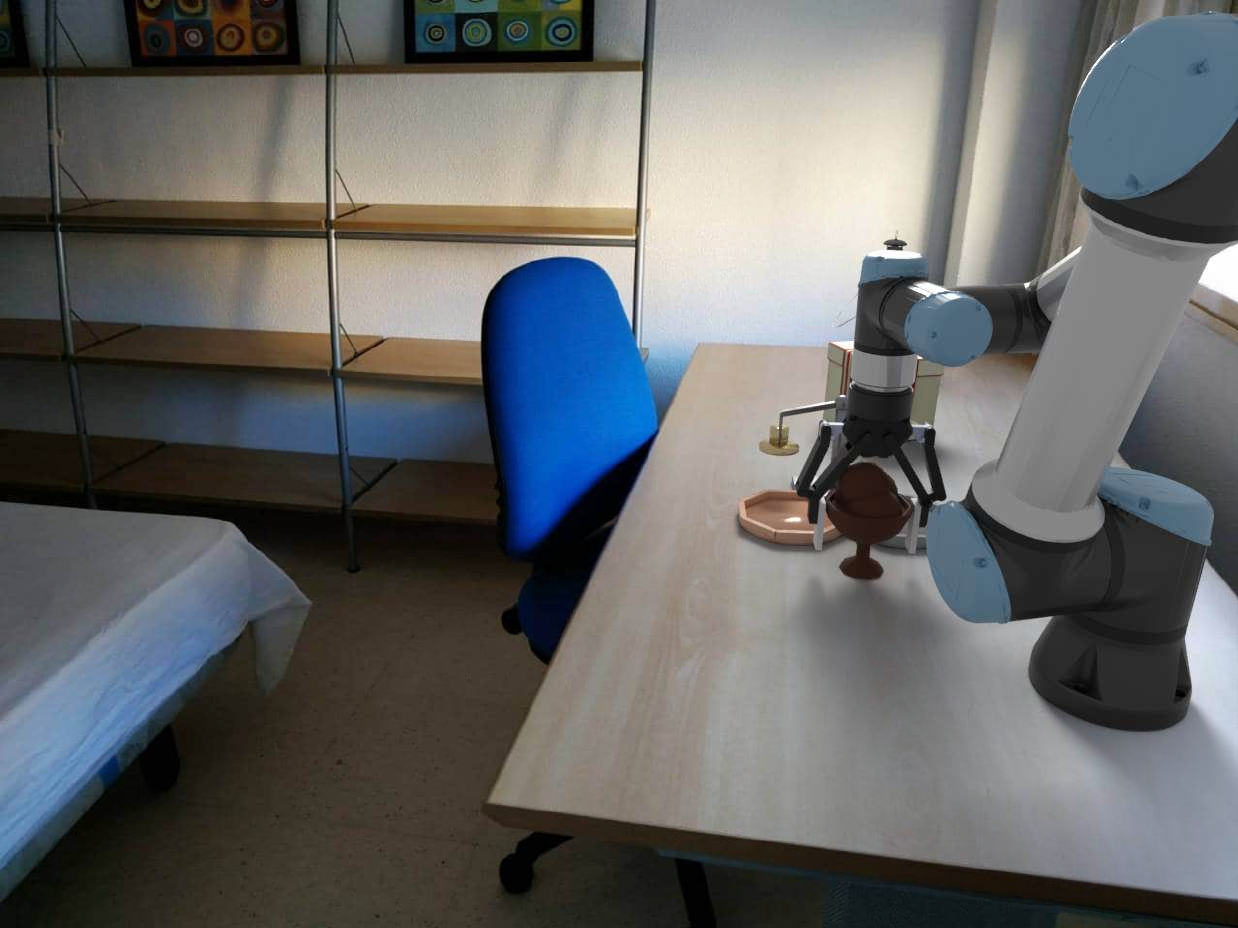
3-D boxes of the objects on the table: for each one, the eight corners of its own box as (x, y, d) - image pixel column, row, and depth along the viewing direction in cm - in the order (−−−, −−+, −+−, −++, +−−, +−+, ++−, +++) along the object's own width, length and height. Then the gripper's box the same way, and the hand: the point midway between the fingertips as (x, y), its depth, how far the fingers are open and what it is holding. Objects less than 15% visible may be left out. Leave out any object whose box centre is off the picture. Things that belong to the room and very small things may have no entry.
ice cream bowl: (908, 593, 121) (923, 480, 115) (816, 583, 123) (826, 472, 117) (903, 555, 130) (916, 449, 125) (818, 547, 132) (827, 442, 127)
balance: (917, 506, 145) (931, 398, 139) (758, 501, 147) (764, 394, 140) (906, 485, 153) (919, 382, 147) (754, 481, 154) (760, 378, 148)
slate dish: (965, 550, 132) (967, 538, 131) (853, 546, 132) (854, 534, 132) (938, 505, 146) (940, 494, 145) (837, 502, 146) (838, 491, 146)
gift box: (952, 436, 174) (965, 342, 168) (865, 449, 168) (875, 351, 162) (894, 408, 189) (904, 321, 183) (812, 419, 183) (819, 328, 177)
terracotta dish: (853, 546, 132) (854, 534, 132) (741, 543, 133) (742, 531, 133) (837, 502, 146) (838, 491, 146) (736, 499, 147) (737, 488, 147)
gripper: (972, 376, 120) (949, 537, 128) (780, 371, 121) (769, 531, 129) (990, 394, 113) (964, 563, 121) (786, 389, 114) (773, 557, 122)
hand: (863, 547), depth 125 cm, fingers closed on ice cream bowl, 11 cm apart
